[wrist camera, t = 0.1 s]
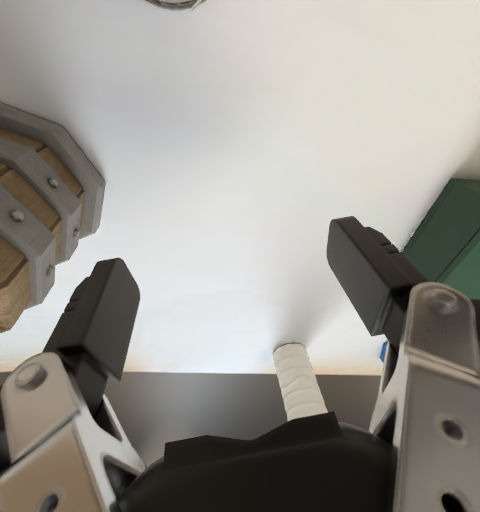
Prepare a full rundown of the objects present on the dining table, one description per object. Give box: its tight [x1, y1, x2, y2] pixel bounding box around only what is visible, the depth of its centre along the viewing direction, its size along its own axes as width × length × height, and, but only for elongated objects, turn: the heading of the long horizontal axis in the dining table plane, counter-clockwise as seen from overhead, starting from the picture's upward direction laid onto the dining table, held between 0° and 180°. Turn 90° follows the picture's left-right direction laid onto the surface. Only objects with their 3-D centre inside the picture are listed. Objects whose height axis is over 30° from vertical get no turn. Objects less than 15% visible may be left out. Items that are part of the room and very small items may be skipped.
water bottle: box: [273, 343, 328, 421], centre depth 40 cm, size 9×6×25 cm
